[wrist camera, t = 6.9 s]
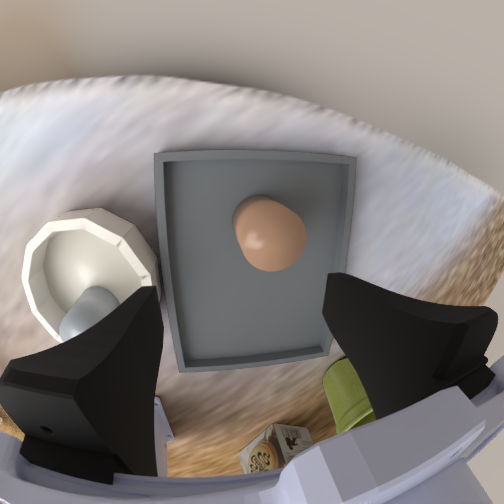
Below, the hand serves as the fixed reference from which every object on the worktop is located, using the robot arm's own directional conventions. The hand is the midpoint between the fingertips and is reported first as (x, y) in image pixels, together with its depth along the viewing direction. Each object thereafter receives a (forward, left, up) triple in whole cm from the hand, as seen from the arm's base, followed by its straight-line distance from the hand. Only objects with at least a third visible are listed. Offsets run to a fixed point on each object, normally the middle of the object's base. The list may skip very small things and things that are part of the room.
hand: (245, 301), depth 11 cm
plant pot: (-17, -13, -10) cm, 24 cm away
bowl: (-3, +11, -10) cm, 15 cm away
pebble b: (+1, -2, -9) cm, 9 cm away
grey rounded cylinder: (-5, +11, -9) cm, 15 cm away
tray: (-3, -2, -10) cm, 10 cm away
